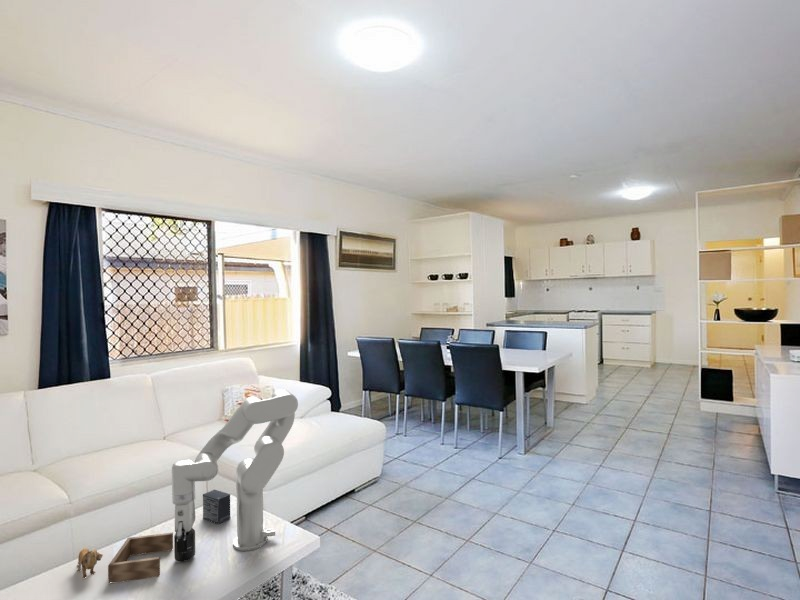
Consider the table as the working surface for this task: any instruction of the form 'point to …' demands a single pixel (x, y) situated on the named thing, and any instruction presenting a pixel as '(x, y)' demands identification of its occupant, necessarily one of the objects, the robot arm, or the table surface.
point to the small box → (216, 506)
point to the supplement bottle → (190, 547)
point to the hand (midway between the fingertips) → (184, 545)
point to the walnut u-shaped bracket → (143, 567)
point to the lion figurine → (88, 560)
